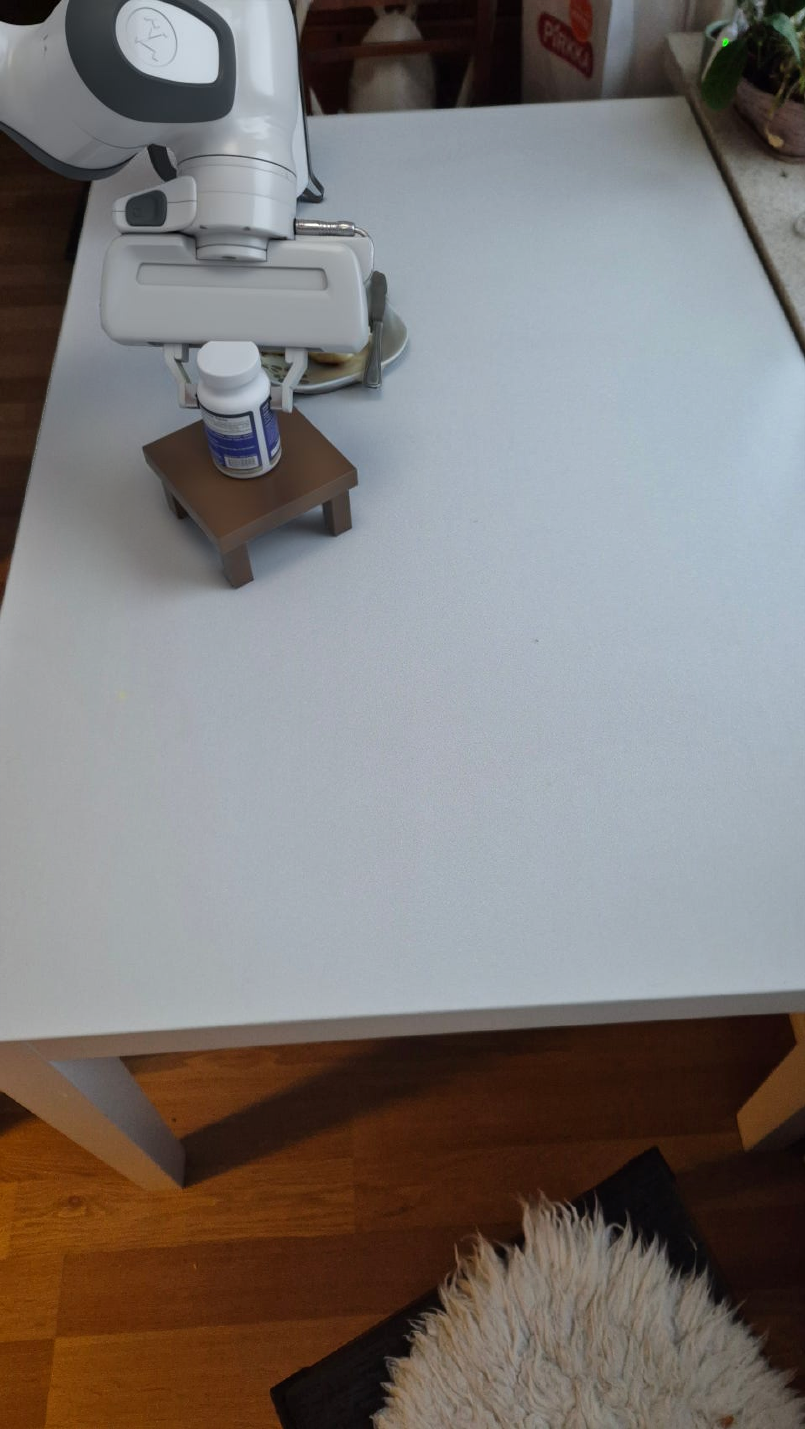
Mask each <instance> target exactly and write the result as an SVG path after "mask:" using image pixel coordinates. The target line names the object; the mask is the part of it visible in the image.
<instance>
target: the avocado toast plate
mask: <svg viewBox="0 0 805 1429" xmlns="http://www.w3.org/2000/svg"><path fill="white" fill-rule="evenodd" d="M365 289H366V297H367V308H368V329H369V336H368V343H367V344H366V346H365V347H364V348H363V349H362V350H361V351H360V352H359V353H357V354H345V353H316V352H308V361H307V369H306V370H305V372H304V374H303V376H302V377H301V379H300V381H299V382H298V384H297V386H296V387H295V389H293V393H302V394H306V395H320V394H326V393H331V392H334V391H337V390H340V389H342V388H344V387H347V386H349V385H353V384H355V383H360V382H361V383H362V386H363V387H364V388H365V389H370V390H374V389H378V388H380V387H381V385H382V379H383V377H382V374H383V371H384V369H386V368H387V367H389V365H391V364H392V363H393V362H395V361H396V360H397V359H398V358H399V357H400V356H401V354H402V352H403V350H404V349H405V347H406V345H407V343H408V341H409V328H408V326H407V325H406V323H405V321H404V319H402V318H401V316H400V315H399V313H398V312H397V311H396V310H395V309H394V307H393V306H392V305H391V304H390V303H389V302H388V301H387V297H386V295H387V292H388V282H387V278H386V274H384V273H383V272H380V271H378V270H373V274H372V276H371V278H370V280H369V281H368V282H367V283H366V284H365ZM258 351H259V350H258ZM259 356H260V360H261V368H262V369H263V370H264V371H265V372H266V374H267V375H268V377H269V380H270V383H271V387H272V386H275V387H281V384H282V383H283V381H284V379H285V377H286V375H287V373H288V372H289V370H290V368H291V366H290V365H289V364H288V363H286V362H285V351H259Z"/></svg>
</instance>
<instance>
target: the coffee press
mask: <svg viewBox="0 0 805 1429" xmlns="http://www.w3.org/2000/svg"><path fill="white" fill-rule="evenodd" d="M288 1H289V4H290V7H291V11H292V15H293V19H294V24H295V32H296V41H297V55H298V118H297V123H296V127H295V130H294V134H293V139H292V152H293V158H294V163H295V167H296V172H297V198H299V197H300V196H301V195H305V196H306V197H307V198H308V199H309V200H310V201H312V203H315V204H319V203H322V201H323V200H324V196H325V187H324V185H322V183H321V182H320V181H319V180H318V179H317V176H316V175H315V173H314V172H313V166H312V159H311V158H312V155H311V147H310V146H311V145H310V136H309V135H310V134H309V126H308V116H307V115H308V114H307V106H306V95H305V94H306V93H305V84H304V75H303V65H302V63H303V62H302V54H301V44H300V35H299V24H298V16H297V6H296V5H297V4H296V0H288ZM146 149H147V150H146V151H147V154H148V156H149V160H150V163H151V165H152V168H153V169H154V171H155V173H156V175H157V176H158V177H159V178H160V180H162V181H163V182H164V183H165V182H168V181H170V180H173V179H175V178H177V168H176V167H174V165H173V164H172V162H171V160H170V158H169V157H170V156H169V153H168V148H167V147H164V146H160V145H155V144H154V143H152V144H150V145H149V146H147V147H146ZM309 181H311V183H312V184H313V186H314V187H315V188H316V189H317V191H318V192H319V193H320V194H319V195H317V194H315V193H314V192H313V191H312V190H310V189H309V188H308V187H307V186H308V184H309Z"/></svg>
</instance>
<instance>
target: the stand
mask: <svg viewBox="0 0 805 1429" xmlns="http://www.w3.org/2000/svg"><path fill="white" fill-rule="evenodd" d="M271 387H275V386H272V385H271ZM276 418H277V424H278V430H279V436H280V442H281V456H280V459H279V461H278V462H277V464H276V465H275V466H274V467H273V468H272V469H271V470H269V471H268V472H266V473H264V474H262V475H260V476H257V477H253V478H235V477H231V476H229V475H226V474H224V473H223V472H221V471H220V470H219V469H218V468H217V467H216V465H215V463H214V461H213V458H212V455H211V451H210V446H209V442H208V438H207V434H206V430H205V426H204V421H203V418H201V419H199V420H197V421H194V422H192V423H190V424H187V425H186V426H184V427H181V428H179V429H177V430H175V431H173V432H171V433H169V434H166V435H165V436H164V435H163V436H162V437H160V438H158V439H156V440H153V441H151V442H149V443H147V444H145V445H142V446H141V449H142V450H141V451H142V453H143V456H144V459H145V462H146V464H147V465H148V466H149V468H150V469H151V470H152V472H153V473H154V474H155V475H156V476H157V477H158V479H159V480H160V482H161V485H162V489H163V492H164V495H165V499H166V503H167V505H168V508H169V510H170V511H171V512H172V513H173V514H174V516H175V517H176V518H177V519H178V520H180V519H182V518H185V517H186V516H188V515H189V516H190V517H191V519H193V521H194V522H195V524H196V525H197V526H198V527H199V528H200V530H202V532H203V533H204V534H205V536H206V537H207V538H208V539H209V540H210V542H211V543H212V544H213V545H214V546H215V547H216V549H217V550H218V553H219V557H220V561H221V565H222V569H223V573H224V576H225V578H226V580H227V581H228V582H229V583H230V584H231V586H232V587H233V588H234V589H235V590H237V589H239V588H241V587H244V586H245V585H247V584H248V583H250V582H252V581H254V580H255V579H254V575H253V571H252V566H251V561H250V556H249V553H248V548H247V544H246V543H248V542H250V541H252V540H254V539H255V538H258V537H259V536H262V535H264V534H265V533H268V532H269V531H272V530H274V529H276V528H277V527H279V526H281V525H284V524H285V523H287V522H289V521H291V520H293V519H295V518H297V517H299V516H300V515H303V514H304V513H307V512H308V511H310V510H312V509H314V508H316V507H318V506H320V505H321V507H322V516H323V523H324V526H325V527H326V528H327V530H328V531H329V532H330V533H331V534H332V535H333V536H334V537H337V536H340V535H341V534H343V533H346V532H347V531H350V530H351V529H352V528H353V521H352V520H353V519H352V512H351V511H352V510H351V498H350V490H351V489H354V488H355V487H357V486H358V485H359V477H358V469H357V467H355V465H353V463H352V462H351V461H350V460H349V459H348V458H347V457H346V456H345V455H344V454H342V452H341V451H340V450H339V449H338V448H337V447H336V446H335V445H334V444H333V443H332V442H331V441H330V440H329V439H328V438H327V437H326V436H325V435H324V434H323V433H322V432H321V431H320V430H319V429H318V428H317V427H316V426H315V425H314V424H313V423H312V422H311V420H309V419H308V418H307V417H306V416H305V415H304V414H303V413H302V412H301V411H300V410H299V409H298V407H296V406H295V405H294V404H293V403H292V412H291V413H283V412H276Z"/></svg>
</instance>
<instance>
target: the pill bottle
mask: <svg viewBox="0 0 805 1429" xmlns="http://www.w3.org/2000/svg"><path fill="white" fill-rule="evenodd" d="M196 366H197V371H198V374H199V379H198V381H197V384H198V385H197V396H198V401H199V405H200V409H199V410H200V413H201V417H202V419H203V421H204V426H205V430H206V434H207V438H208V442H209V446H210V451H211V455H212V458H213V461H214V463H215V465H216V467H217V468H218V469H219V470H220V471H221V472H223V473H224V474H226V475H229V476H231V477H235V478H253V477H257V476H260V475H262V474H264V473H266V472H268V471H269V470H271V469H272V468H273V467H274V466H275V465H276V464H277V462H278V461H279V459H280V456H281V442H280V436H279V430H278V424H277V418H276V412H272V411H271V410H270V401H271V399H272V398H271V396H270V387H272V385H271V383H270V380H269V377H268V375H267V374H266V372H265V371H264V370H263V369H262V368H261V360H260V356H259V351H258V348H257V347H256V345H255V344H254V343H253V342H247V341H210V342H208V343H206V344H205V345H204V346H203V347H202V348H199V350H198V352H197V354H196Z"/></svg>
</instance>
